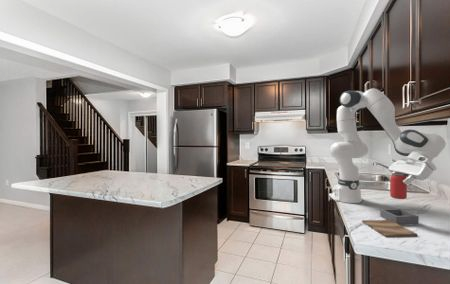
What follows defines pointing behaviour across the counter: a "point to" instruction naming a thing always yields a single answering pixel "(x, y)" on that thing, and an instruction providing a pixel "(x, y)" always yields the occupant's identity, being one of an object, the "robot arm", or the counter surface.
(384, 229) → the walnut board
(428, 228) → the counter surface
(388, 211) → the can collar
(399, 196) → the beer can
